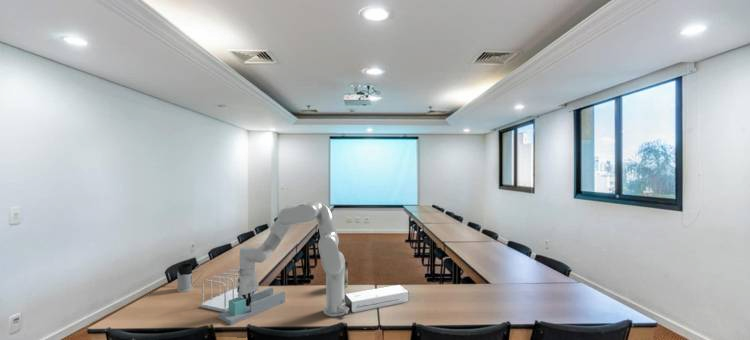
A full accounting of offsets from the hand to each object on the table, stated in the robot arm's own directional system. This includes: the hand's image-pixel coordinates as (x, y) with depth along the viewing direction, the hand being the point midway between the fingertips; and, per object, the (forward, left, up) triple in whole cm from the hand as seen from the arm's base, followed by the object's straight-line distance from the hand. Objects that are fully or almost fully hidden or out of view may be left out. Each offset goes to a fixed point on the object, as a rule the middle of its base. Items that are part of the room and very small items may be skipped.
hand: (247, 305), depth 172 cm
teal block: (0, +6, -1) cm, 6 cm away
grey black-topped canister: (+58, +3, -4) cm, 58 cm away
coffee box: (-17, -52, -4) cm, 55 cm away
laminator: (-48, -49, -4) cm, 69 cm away
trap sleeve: (0, -3, -3) cm, 5 cm away
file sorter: (+20, -2, -4) cm, 21 cm away
